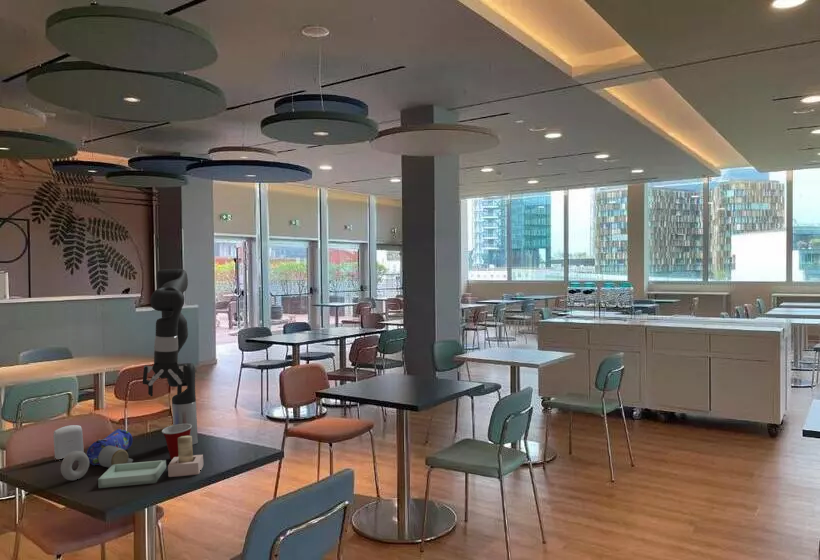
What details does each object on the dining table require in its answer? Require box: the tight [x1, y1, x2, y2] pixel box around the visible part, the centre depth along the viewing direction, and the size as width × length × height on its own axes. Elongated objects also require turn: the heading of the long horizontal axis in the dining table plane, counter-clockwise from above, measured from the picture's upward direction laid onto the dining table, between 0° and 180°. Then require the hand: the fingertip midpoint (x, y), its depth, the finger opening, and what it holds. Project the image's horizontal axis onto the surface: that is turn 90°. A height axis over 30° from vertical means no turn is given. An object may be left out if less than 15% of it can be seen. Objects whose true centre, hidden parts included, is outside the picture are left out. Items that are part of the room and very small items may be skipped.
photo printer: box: [53, 424, 85, 459], centre depth 240 cm, size 10×4×12 cm, turn 137°
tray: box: [97, 459, 167, 489], centre depth 211 cm, size 16×18×3 cm
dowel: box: [178, 436, 194, 463], centre depth 216 cm, size 5×5×12 cm
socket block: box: [167, 454, 204, 478], centre depth 216 cm, size 10×10×4 cm
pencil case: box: [86, 428, 134, 466], centre depth 237 cm, size 22×9×10 cm, turn 0°
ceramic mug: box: [98, 445, 134, 469], centre depth 225 cm, size 11×8×8 cm
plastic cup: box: [161, 424, 192, 461], centre depth 232 cm, size 11×11×12 cm
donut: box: [60, 451, 90, 481], centre depth 212 cm, size 10×4×10 cm, turn 154°
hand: (164, 395), depth 209 cm, fingers open, 8 cm apart
